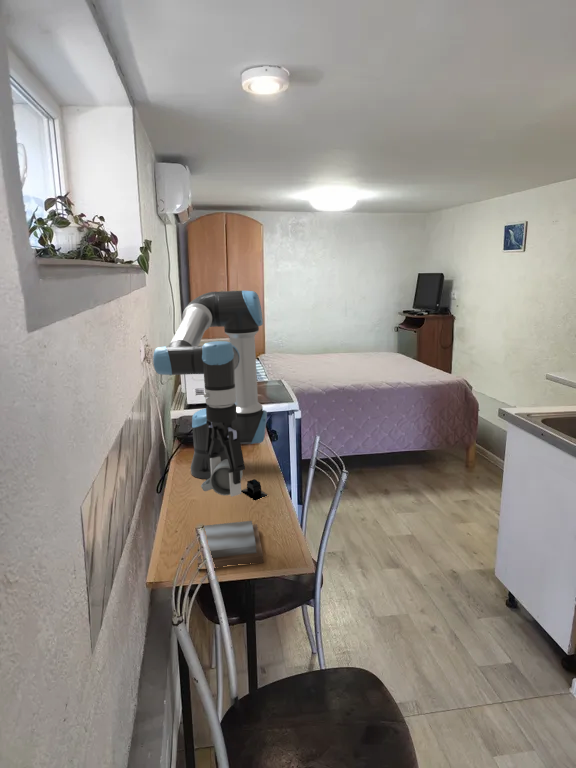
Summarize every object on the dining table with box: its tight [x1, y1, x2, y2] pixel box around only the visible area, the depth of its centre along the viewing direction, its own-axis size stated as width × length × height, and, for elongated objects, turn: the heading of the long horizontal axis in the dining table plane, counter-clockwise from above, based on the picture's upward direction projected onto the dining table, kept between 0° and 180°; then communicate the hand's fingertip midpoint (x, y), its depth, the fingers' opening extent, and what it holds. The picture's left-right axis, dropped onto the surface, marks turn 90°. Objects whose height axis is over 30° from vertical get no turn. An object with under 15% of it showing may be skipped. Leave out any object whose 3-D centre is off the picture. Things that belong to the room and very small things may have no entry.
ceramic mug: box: [200, 459, 243, 496], centre depth 127 cm, size 11×8×8 cm
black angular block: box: [241, 478, 268, 502], centre depth 161 cm, size 12×7×5 cm, turn 36°
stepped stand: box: [197, 520, 264, 569], centre depth 128 cm, size 16×16×4 cm
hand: (225, 487), depth 127 cm, fingers closed on ceramic mug, 10 cm apart
